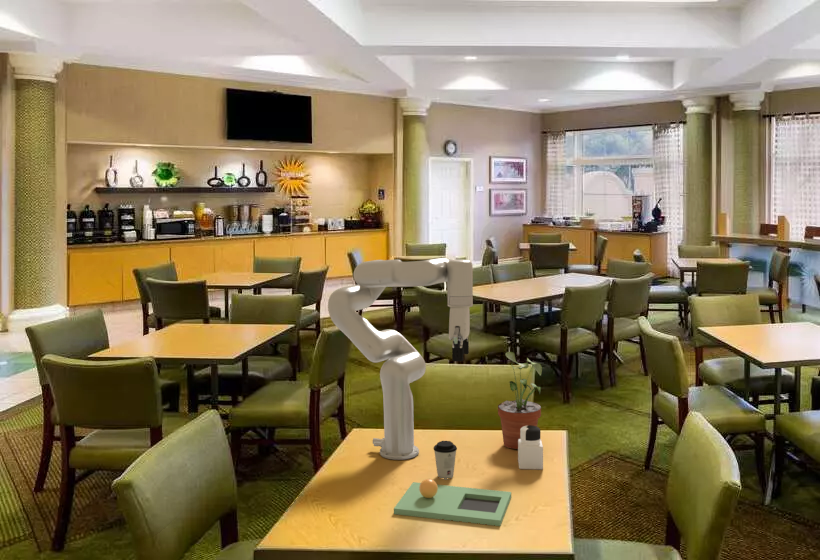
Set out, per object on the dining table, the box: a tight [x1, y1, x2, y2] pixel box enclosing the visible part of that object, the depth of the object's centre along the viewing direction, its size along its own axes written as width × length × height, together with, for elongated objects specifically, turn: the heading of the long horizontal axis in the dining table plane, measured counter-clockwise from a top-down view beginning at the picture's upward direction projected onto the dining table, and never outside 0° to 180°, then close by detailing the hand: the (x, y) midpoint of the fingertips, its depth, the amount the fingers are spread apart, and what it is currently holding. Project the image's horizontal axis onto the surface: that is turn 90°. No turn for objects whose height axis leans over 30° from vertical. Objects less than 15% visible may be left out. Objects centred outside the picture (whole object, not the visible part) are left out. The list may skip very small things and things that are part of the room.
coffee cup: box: [433, 440, 458, 480], centre depth 213 cm, size 7×7×10 cm
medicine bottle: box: [517, 425, 544, 470], centre depth 220 cm, size 7×7×12 cm
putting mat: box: [393, 481, 512, 527], centre depth 193 cm, size 28×18×2 cm, turn 73°
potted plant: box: [497, 351, 543, 450], centre depth 236 cm, size 16×15×35 cm
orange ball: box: [419, 478, 438, 498], centre depth 195 cm, size 5×5×5 cm
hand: (460, 357), depth 217 cm, fingers open, 9 cm apart
